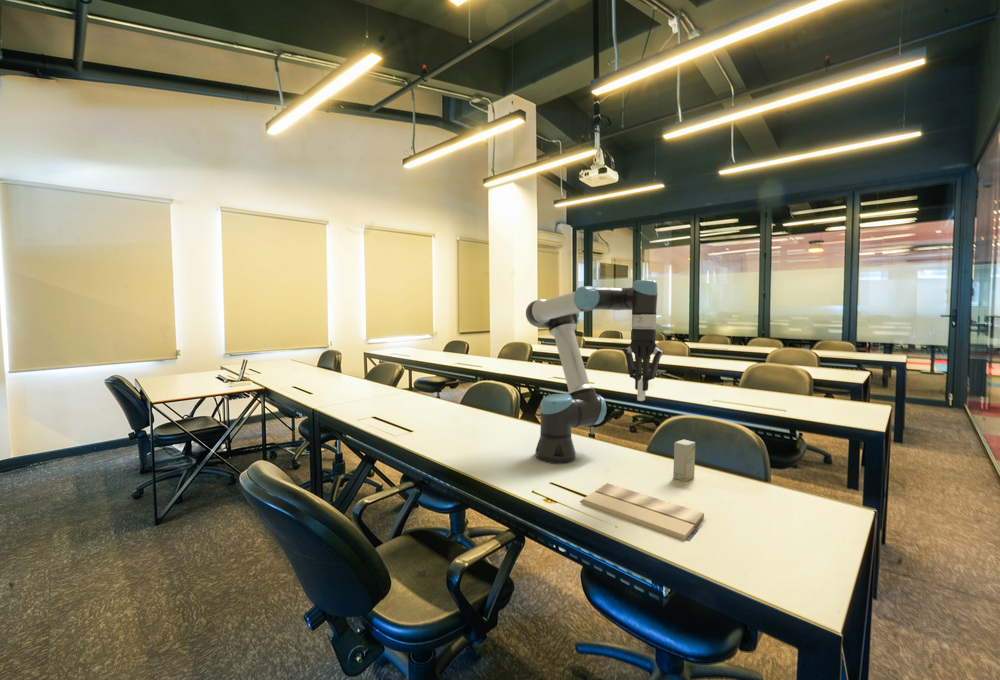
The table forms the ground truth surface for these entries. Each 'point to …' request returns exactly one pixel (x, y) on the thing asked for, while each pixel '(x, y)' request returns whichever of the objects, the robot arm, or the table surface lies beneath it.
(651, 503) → the plank
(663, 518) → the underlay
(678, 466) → the skincare box
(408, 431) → the table surface
